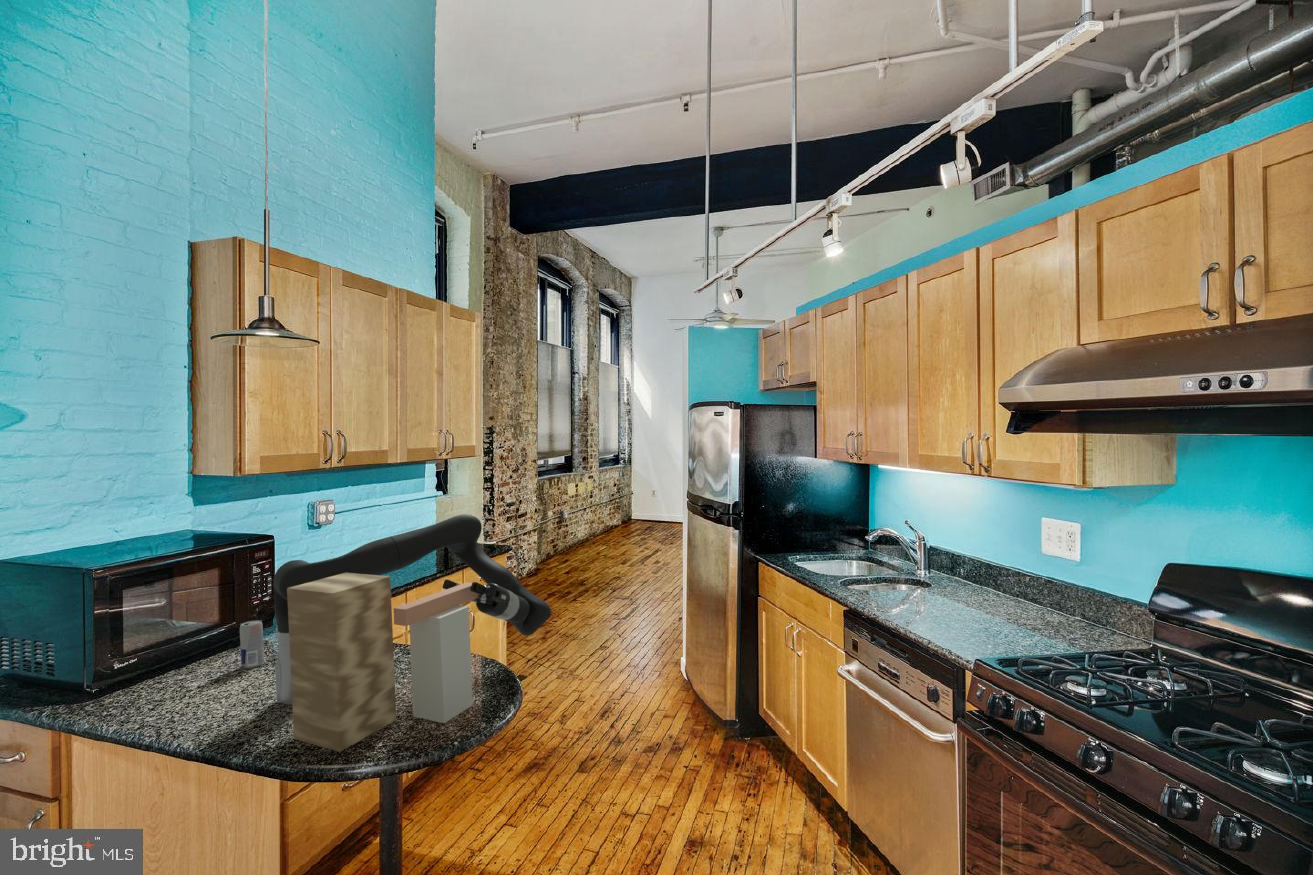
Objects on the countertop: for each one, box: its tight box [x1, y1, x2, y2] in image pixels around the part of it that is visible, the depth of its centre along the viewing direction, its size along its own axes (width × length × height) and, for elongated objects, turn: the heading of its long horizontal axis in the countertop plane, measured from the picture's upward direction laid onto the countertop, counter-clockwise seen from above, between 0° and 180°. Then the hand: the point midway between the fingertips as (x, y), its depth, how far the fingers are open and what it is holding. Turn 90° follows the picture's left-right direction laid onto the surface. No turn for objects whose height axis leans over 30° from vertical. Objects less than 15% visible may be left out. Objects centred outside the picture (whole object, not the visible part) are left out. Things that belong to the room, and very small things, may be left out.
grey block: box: [409, 605, 474, 724], centre depth 135 cm, size 9×9×23 cm
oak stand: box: [287, 573, 397, 753], centre depth 128 cm, size 14×14×32 cm
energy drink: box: [239, 619, 265, 669], centre depth 168 cm, size 5×5×12 cm
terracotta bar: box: [393, 582, 478, 627], centre depth 136 cm, size 22×4×4 cm, turn 155°
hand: (458, 584), depth 141 cm, fingers open, 8 cm apart
